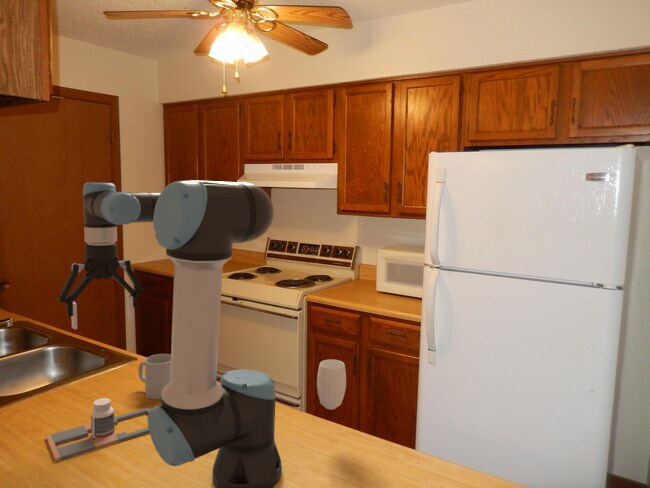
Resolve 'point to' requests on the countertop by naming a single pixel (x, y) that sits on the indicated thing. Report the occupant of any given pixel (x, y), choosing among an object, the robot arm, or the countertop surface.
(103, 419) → the pill bottle
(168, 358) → the mug
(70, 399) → the countertop surface
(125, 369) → the countertop surface
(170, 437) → the robot arm
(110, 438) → the keyhole board
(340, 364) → the cup
